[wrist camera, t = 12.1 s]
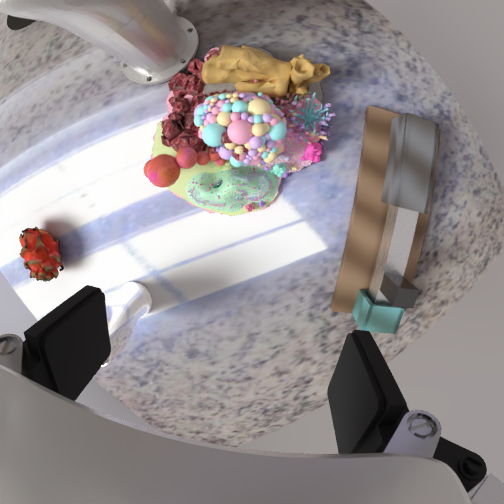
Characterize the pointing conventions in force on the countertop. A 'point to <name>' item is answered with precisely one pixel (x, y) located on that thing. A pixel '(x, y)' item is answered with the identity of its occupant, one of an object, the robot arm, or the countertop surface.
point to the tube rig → (386, 208)
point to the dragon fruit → (40, 254)
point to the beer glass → (125, 315)
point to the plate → (18, 22)
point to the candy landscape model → (238, 128)
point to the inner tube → (394, 261)
